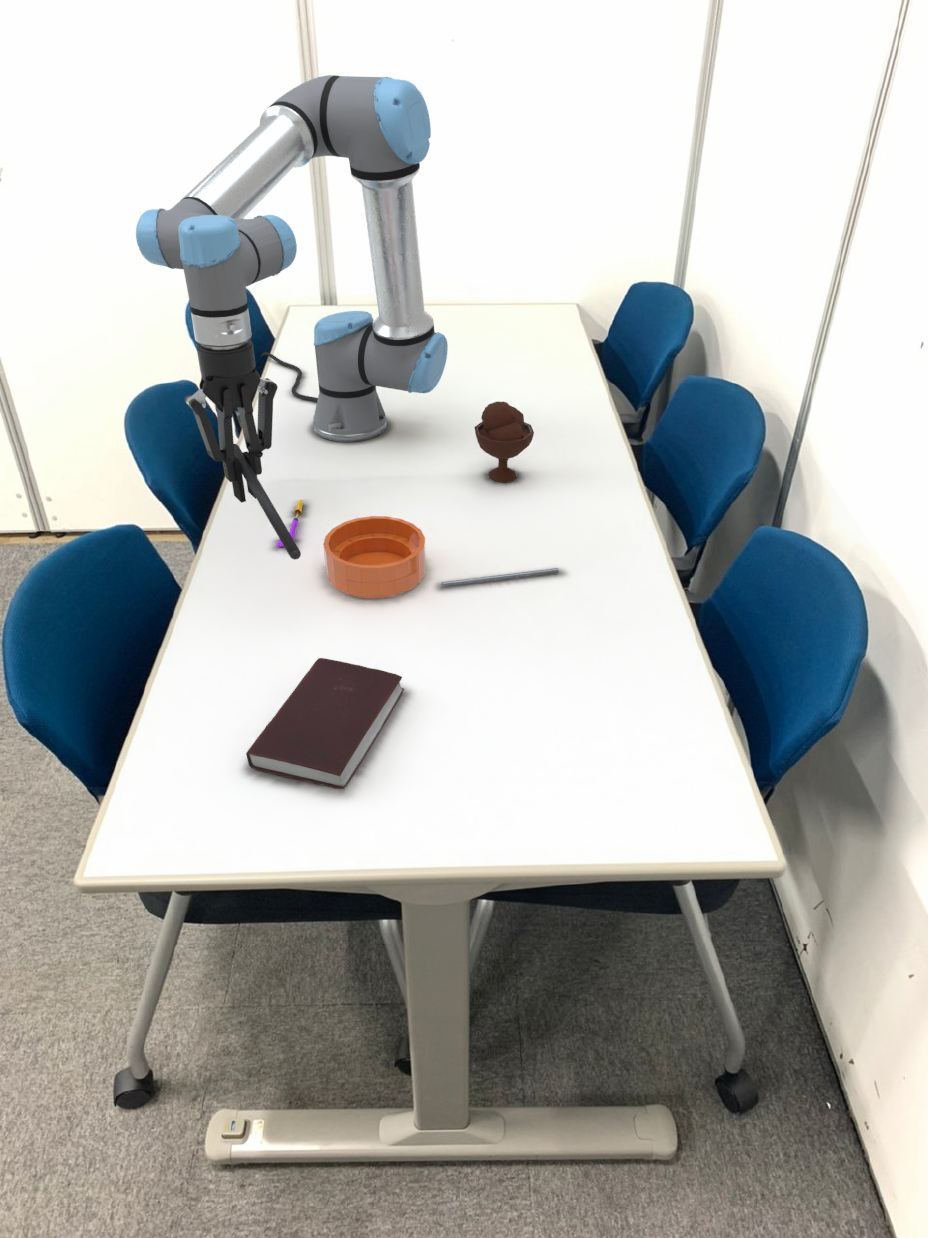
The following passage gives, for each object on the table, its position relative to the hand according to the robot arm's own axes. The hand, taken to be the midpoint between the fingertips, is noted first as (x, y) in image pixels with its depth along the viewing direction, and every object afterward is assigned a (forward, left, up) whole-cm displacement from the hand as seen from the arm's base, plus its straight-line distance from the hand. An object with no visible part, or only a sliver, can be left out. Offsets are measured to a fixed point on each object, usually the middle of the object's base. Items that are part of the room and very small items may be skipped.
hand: (247, 496), depth 135 cm
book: (+39, -8, -13) cm, 42 cm away
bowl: (+11, +15, -13) cm, 23 cm away
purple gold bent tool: (-10, +11, -13) cm, 20 cm away
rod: (+24, +30, -13) cm, 41 cm away
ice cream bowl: (-5, +52, -13) cm, 54 cm away
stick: (+7, 0, +2) cm, 7 cm away
